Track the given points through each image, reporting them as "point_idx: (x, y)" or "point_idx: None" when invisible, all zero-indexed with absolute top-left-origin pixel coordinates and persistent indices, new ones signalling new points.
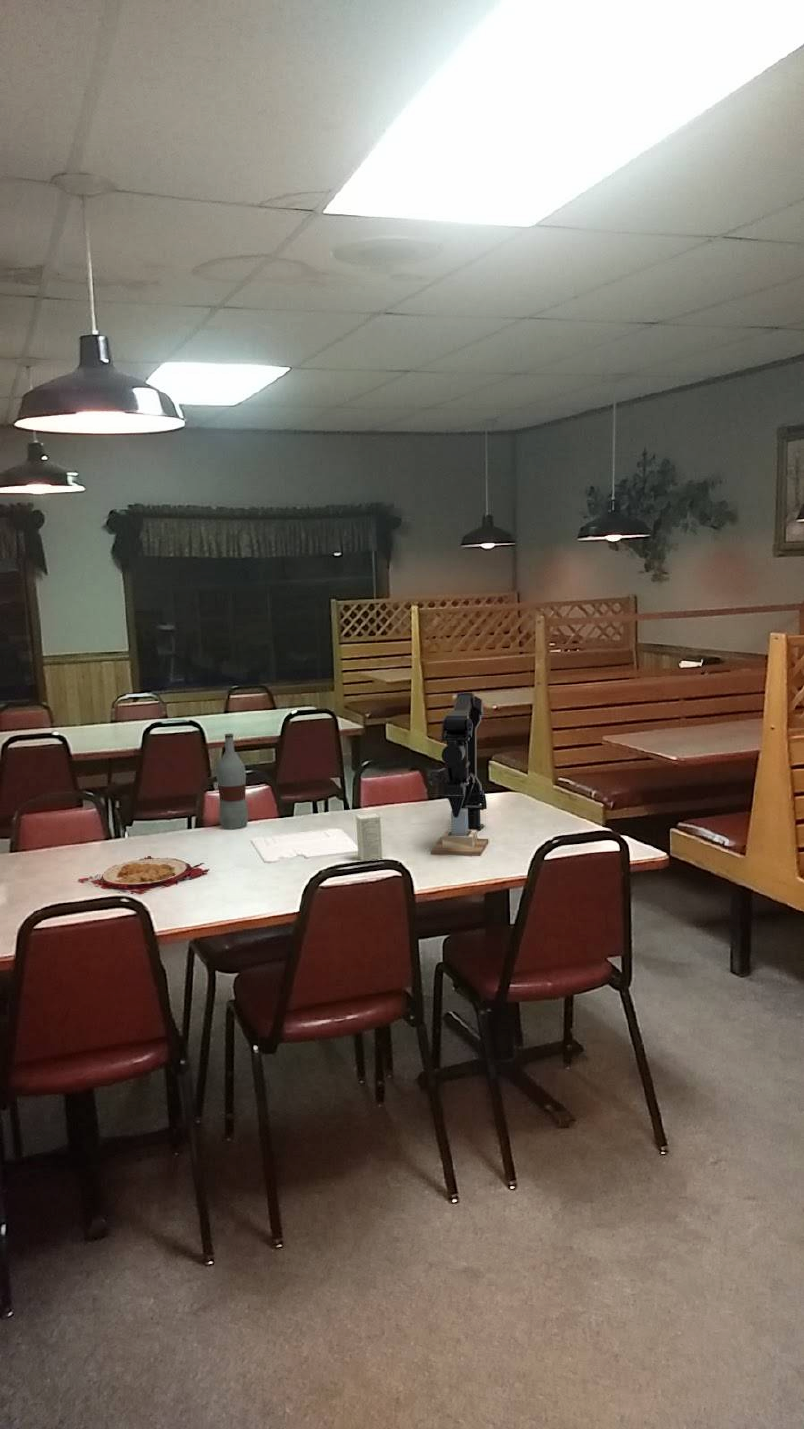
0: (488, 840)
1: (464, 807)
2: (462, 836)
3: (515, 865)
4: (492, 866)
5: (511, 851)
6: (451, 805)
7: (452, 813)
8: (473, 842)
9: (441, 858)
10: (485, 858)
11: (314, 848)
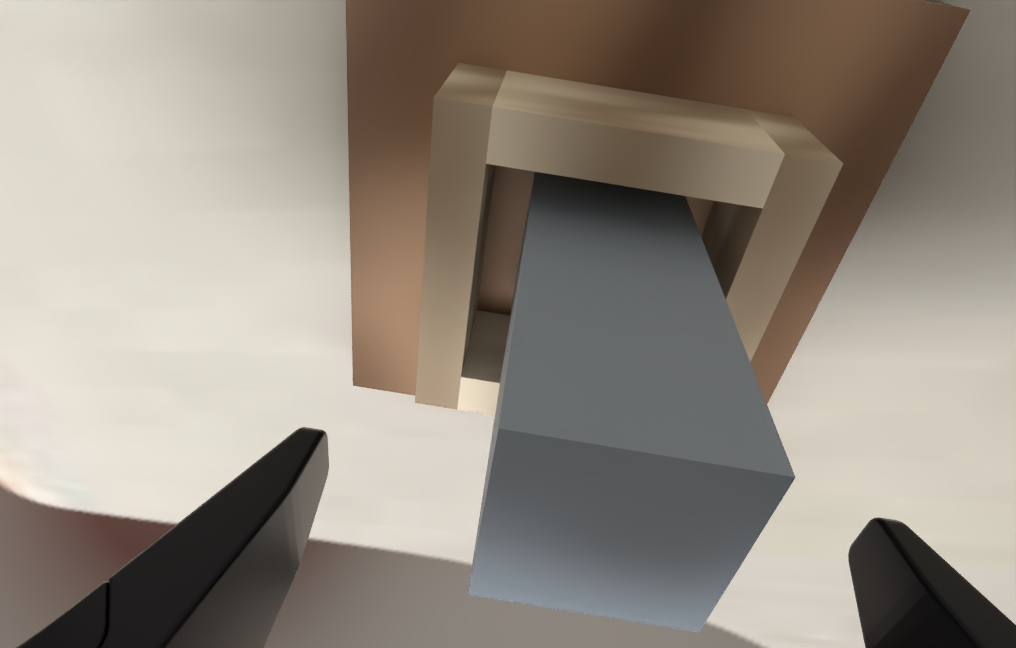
0: None
1: (858, 595)
2: (446, 327)
3: None
4: (149, 419)
5: None
6: (79, 618)
7: (499, 419)
8: None
9: (236, 54)
10: (316, 391)
11: None
